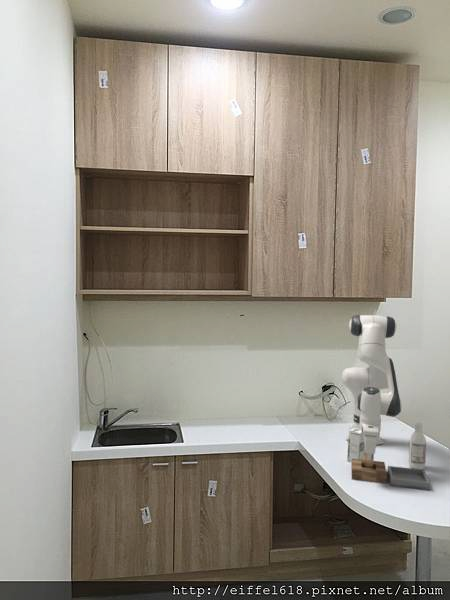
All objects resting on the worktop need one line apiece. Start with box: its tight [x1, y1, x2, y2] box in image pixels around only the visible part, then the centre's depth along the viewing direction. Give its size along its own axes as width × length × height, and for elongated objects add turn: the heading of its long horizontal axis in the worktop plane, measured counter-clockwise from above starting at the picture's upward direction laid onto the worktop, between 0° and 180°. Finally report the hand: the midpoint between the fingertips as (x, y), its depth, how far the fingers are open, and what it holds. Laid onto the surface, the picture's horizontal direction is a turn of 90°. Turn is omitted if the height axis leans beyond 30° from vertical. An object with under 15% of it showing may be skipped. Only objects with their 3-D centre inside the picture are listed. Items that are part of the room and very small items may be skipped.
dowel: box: [364, 444, 375, 469], centre depth 216 cm, size 4×4×14 cm
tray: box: [387, 465, 431, 491], centre depth 210 cm, size 15×15×3 cm
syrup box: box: [346, 428, 365, 463], centre depth 232 cm, size 6×6×14 cm
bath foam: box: [408, 422, 427, 470], centre depth 227 cm, size 7×7×20 cm
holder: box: [350, 459, 388, 484], centre depth 216 cm, size 14×14×4 cm
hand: (368, 457), depth 216 cm, fingers closed on dowel, 4 cm apart
